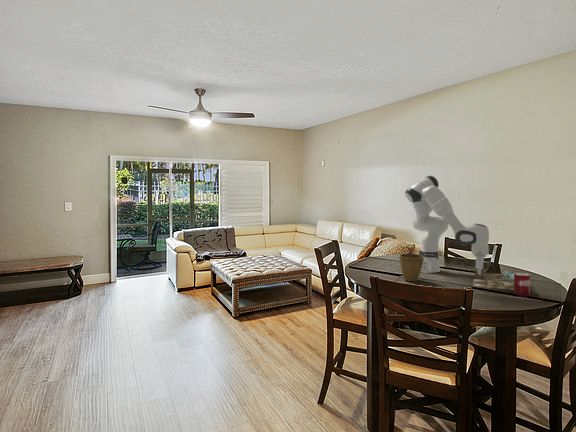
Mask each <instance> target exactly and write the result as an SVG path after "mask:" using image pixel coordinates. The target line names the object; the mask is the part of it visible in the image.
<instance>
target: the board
mask: <svg viewBox="0 0 576 432" xmlns="http://www.w3.org/2000/svg"><path fill="white" fill-rule="evenodd" d="M488 276H496V277H505V275H504V274H501V273H487V272H486V273H484V279H478V278H473V283H472V286H473V287H483V288H489V289H490V288H491V289H502V290H508V291H509V290H511V291H514V281H511V280H506V279H500V278H493V277H491V278H490V277H488Z"/></svg>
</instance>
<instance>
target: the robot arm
mask: <svg viewBox="0 0 576 432" xmlns="http://www.w3.org/2000/svg"><path fill="white" fill-rule="evenodd" d="M404 194H405V197H406V199H407V200H408V202H411V204H412V206H413V208H414V210H415V214H416V215H415V218H414V219H413V221H412V226H413V228H414V229H415V230H417V231H420V232H426V233H427V232H428V233H427V236H425V237H423V238H422V239H421V249H419V250H418V254H417V255H422V256H424V259H423V264H422V268H421V271H420V273H425V274H431V273H439V272H441V268H440V264H439V262H440V261H439V259H440V251H439V242H440V238H441V236H442V235H443V234H444V233H446V232H447V230H448V228H449V226H450V228H451V229H452V230H453V233H454V239H455V241H456V243H457V244H459V245H461V246H467V245H468V246H469V245H471V254H472V255H473V257H475V267H476V269H477V271H478V275H481V269H483V268H484V260H485V258H486V257H487V255H488V256H489V253H490V252H489V251H490V249H489V248H490V247H489V246H490V245H489V240H490V231H489V227H488V226H486V225H485V224H481V223H474V224H472V225H470V226H468V227H466V226H465V225H464V224H462V223H461V221H460V220H459V218H458V217H457V215H456V214H455V212H454V210H453V206H452V205H451V203H450V201H449V199H448V198H447V196H446V195H445V193H444V192H443V191H442V190H441V189H440V188H439V181H438V179H437V178H436V177H435V176H433V175H428V176H425V177H424V178H422V179H420V180H417V182H415V183H414V184H413V185H412V186H410V187H408V188H406V190H405V193H404ZM432 211H433V212H434V213H435V215H437V216H431V215H430V214H431V213H432Z"/></svg>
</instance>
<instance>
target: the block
mask: <svg viewBox="0 0 576 432" xmlns="http://www.w3.org/2000/svg"><path fill="white" fill-rule="evenodd" d="M484 272H485V268H484V267H483V269H481V275H478V271H477V269H476V266H475V267H474V276H475V277H481V278H482V277H484V278H485V273H484Z"/></svg>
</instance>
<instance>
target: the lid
mask: <svg viewBox="0 0 576 432" xmlns="http://www.w3.org/2000/svg"><path fill="white" fill-rule="evenodd" d="M504 272H505V273H504V274H503V275H505V276H504V277H505V280H511V281H514V274H515V273H510V272H509V271H508V270H505V271H504Z"/></svg>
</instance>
